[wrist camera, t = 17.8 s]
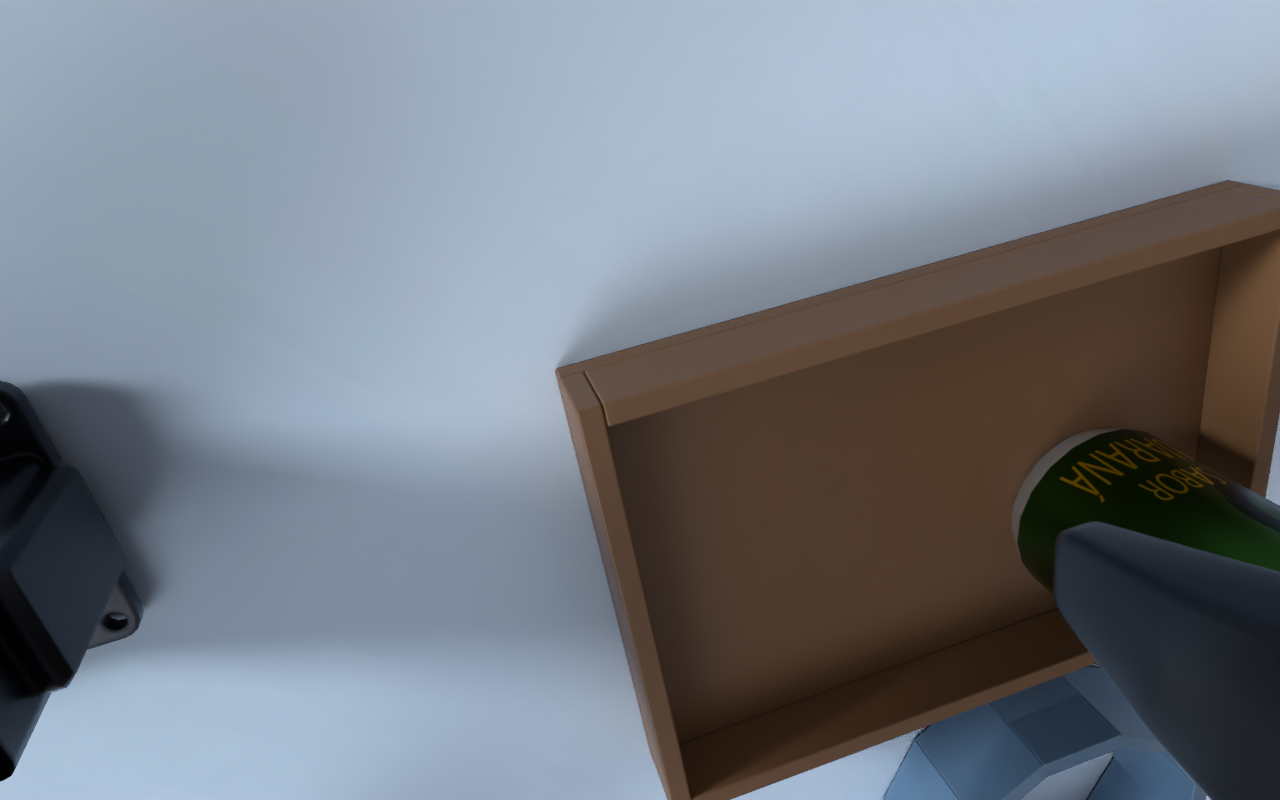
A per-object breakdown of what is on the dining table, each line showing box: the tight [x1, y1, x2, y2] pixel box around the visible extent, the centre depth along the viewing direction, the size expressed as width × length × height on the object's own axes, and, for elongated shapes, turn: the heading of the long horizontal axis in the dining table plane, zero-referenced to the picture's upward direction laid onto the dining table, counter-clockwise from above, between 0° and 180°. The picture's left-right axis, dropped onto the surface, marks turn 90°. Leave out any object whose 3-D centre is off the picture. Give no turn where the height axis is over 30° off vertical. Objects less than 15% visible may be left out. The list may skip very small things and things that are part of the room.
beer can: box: [1010, 428, 1280, 594], centre depth 21 cm, size 5×5×12 cm
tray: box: [555, 180, 1280, 800], centre depth 24 cm, size 19×13×3 cm
